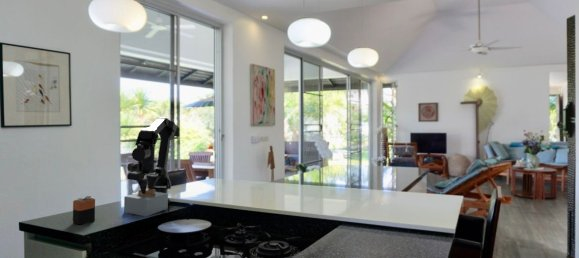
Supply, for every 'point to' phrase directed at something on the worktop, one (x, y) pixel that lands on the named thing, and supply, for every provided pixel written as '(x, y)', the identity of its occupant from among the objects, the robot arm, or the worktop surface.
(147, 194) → the tan wooden block
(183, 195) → the worktop surface
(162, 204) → the coin box
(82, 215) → the battery
